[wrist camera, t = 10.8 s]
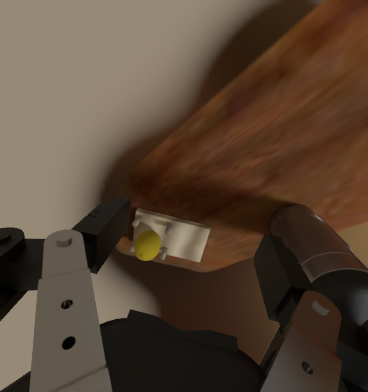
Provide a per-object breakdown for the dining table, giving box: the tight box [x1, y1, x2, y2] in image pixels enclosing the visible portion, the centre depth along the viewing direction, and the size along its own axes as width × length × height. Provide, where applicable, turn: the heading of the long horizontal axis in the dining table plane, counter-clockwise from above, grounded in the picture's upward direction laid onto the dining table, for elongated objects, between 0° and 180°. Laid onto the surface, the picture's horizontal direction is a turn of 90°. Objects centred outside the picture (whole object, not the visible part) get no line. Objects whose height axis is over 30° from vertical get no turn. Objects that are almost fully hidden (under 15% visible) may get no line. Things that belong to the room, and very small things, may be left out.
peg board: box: [129, 208, 210, 262], centre depth 45 cm, size 17×10×4 cm, turn 78°
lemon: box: [134, 230, 161, 261], centre depth 42 cm, size 6×6×8 cm
